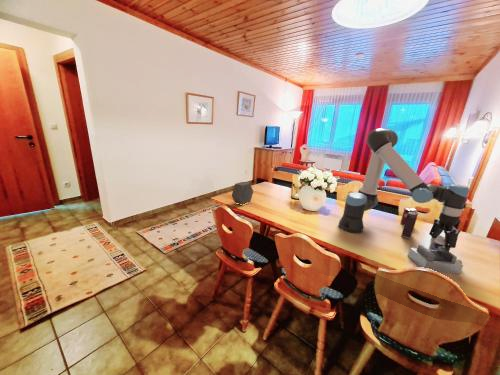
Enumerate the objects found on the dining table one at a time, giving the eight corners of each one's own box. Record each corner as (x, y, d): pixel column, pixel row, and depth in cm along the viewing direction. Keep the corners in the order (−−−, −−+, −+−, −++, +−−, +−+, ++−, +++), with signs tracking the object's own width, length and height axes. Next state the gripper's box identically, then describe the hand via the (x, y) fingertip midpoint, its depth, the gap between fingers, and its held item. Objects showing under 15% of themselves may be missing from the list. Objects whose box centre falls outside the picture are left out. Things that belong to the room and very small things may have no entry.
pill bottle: (427, 250, 116) (433, 234, 113) (436, 250, 116) (441, 234, 114) (437, 255, 111) (442, 239, 108) (446, 255, 111) (451, 239, 109)
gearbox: (423, 270, 98) (428, 256, 96) (407, 255, 109) (411, 242, 107) (468, 275, 96) (474, 260, 94) (447, 259, 108) (452, 246, 106)
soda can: (414, 227, 144) (419, 211, 141) (403, 226, 145) (407, 210, 142) (409, 223, 151) (413, 208, 147) (398, 221, 152) (402, 206, 149)
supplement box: (410, 239, 127) (417, 215, 123) (400, 236, 130) (407, 213, 126) (411, 234, 133) (418, 212, 129) (402, 232, 136) (409, 209, 132)
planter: (248, 193, 184) (240, 176, 170) (255, 195, 180) (248, 178, 166) (237, 207, 176) (229, 191, 162) (244, 210, 171) (236, 193, 158)
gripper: (476, 223, 97) (460, 264, 104) (442, 207, 117) (430, 243, 123) (459, 221, 98) (444, 263, 104) (428, 206, 117) (417, 242, 123)
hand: (437, 252), depth 114 cm, fingers open, 7 cm apart
